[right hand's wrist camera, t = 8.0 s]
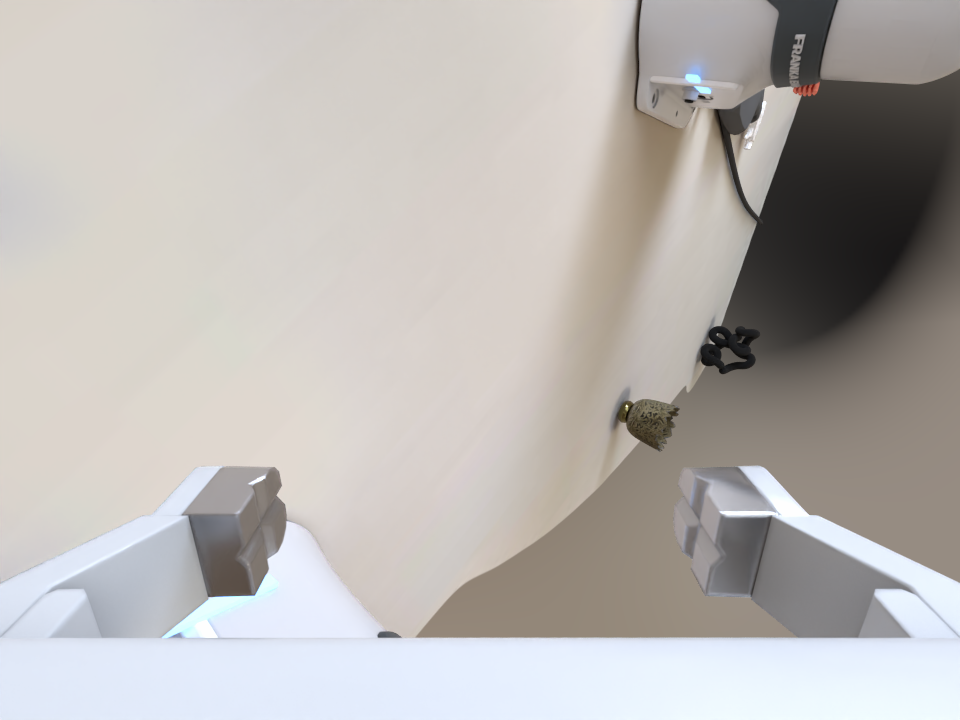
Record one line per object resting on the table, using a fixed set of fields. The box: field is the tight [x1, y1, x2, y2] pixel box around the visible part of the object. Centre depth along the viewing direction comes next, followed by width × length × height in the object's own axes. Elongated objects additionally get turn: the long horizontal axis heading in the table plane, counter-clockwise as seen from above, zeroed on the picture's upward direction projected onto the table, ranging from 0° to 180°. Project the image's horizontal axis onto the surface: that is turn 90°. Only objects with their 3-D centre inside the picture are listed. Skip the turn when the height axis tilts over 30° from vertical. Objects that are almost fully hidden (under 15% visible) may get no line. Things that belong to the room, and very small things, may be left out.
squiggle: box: [701, 326, 760, 374], centre depth 127 cm, size 11×10×15 cm
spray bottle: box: [718, 88, 766, 150], centre depth 78 cm, size 3×11×24 cm
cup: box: [618, 399, 679, 451], centre depth 81 cm, size 8×7×8 cm
